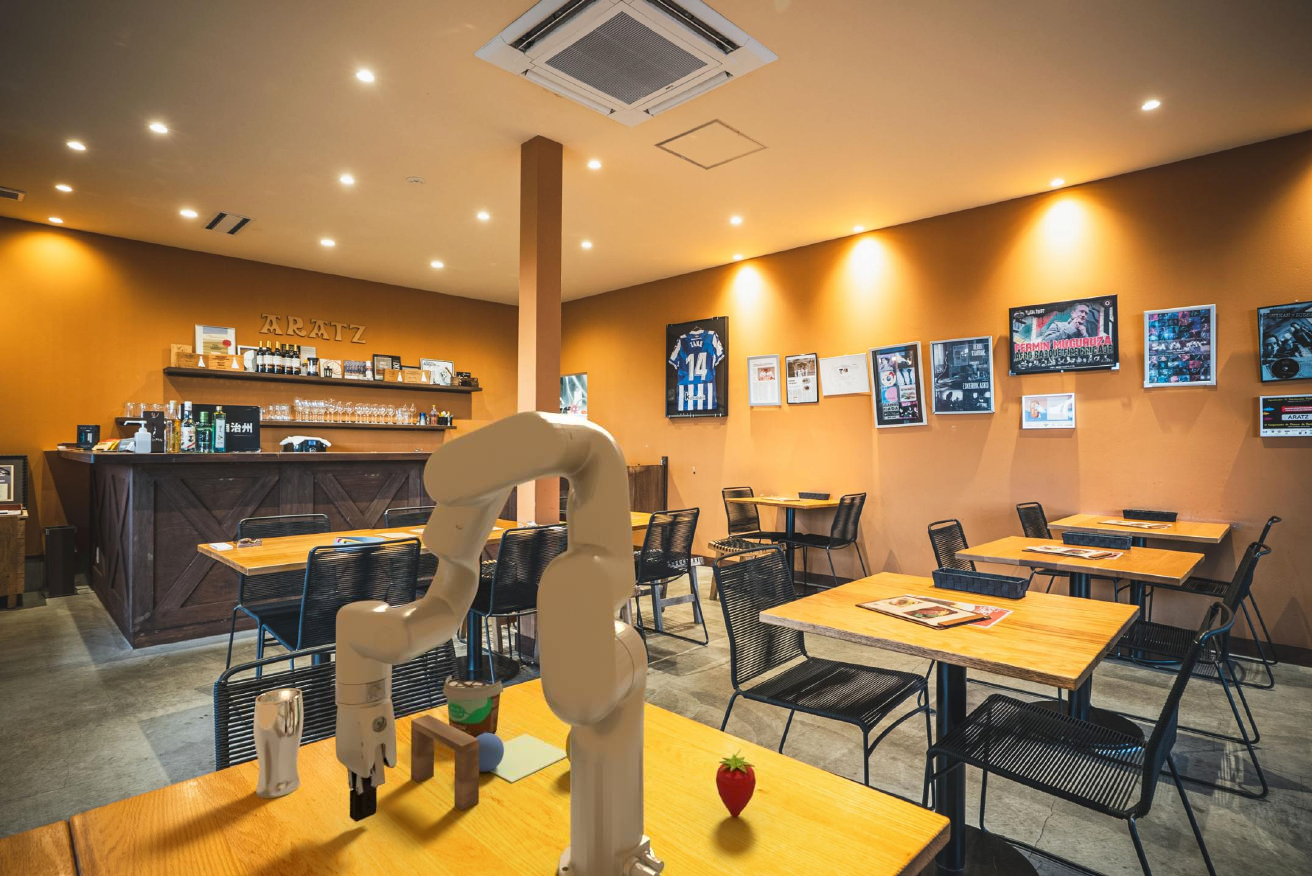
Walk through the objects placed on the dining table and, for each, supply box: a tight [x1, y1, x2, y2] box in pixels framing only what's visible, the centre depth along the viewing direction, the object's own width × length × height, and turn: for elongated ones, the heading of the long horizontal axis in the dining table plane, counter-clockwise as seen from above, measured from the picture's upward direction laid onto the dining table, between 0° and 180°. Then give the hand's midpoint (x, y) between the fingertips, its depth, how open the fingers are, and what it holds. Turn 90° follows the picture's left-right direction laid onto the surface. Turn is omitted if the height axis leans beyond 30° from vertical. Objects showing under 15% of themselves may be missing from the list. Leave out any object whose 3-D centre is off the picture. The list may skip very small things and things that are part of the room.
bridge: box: [410, 714, 480, 812], centre depth 104 cm, size 3×15×10 cm, turn 49°
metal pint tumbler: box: [253, 687, 304, 799], centre depth 104 cm, size 7×7×15 cm
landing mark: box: [489, 733, 567, 784], centre depth 115 cm, size 13×13×1 cm
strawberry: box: [715, 748, 757, 818], centre depth 96 cm, size 6×8×10 cm
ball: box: [476, 733, 504, 773], centre depth 110 cm, size 6×6×6 cm
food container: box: [442, 674, 504, 738], centre depth 124 cm, size 12×6×10 cm, turn 73°
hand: (363, 815), depth 94 cm, fingers closed
